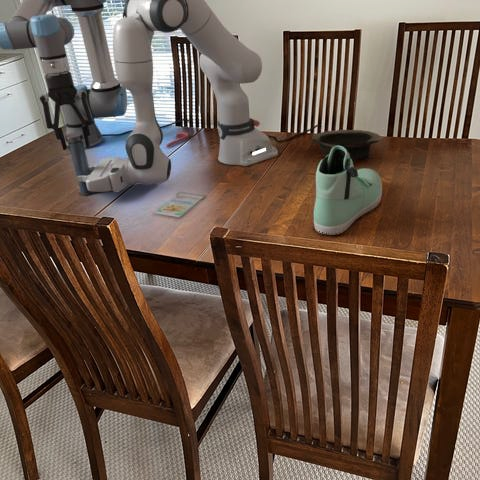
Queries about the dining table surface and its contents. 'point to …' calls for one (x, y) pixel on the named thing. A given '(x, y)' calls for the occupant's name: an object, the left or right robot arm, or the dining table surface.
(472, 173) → the dining table surface
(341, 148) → the sneaker
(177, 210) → the baking ingredient package
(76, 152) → the dark grey cylinder
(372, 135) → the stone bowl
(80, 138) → the lid
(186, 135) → the candy cane
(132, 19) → the right robot arm
